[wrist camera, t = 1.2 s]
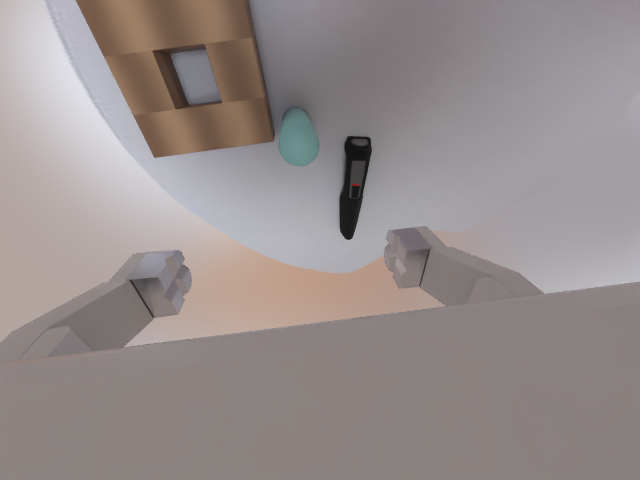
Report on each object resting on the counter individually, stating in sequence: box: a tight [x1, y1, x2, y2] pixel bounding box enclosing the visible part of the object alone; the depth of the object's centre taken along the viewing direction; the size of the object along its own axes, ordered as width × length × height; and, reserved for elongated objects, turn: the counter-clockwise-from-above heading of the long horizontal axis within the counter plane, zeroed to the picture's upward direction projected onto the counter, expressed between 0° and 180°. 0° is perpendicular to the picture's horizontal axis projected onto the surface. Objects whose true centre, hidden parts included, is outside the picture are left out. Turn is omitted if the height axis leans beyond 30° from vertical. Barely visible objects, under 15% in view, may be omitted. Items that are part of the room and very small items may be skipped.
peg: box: [279, 107, 319, 166], centre depth 26 cm, size 4×4×12 cm
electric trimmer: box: [340, 136, 372, 240], centre depth 37 cm, size 4×16×3 cm, turn 177°
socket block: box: [76, 0, 275, 158], centre depth 26 cm, size 14×14×4 cm
